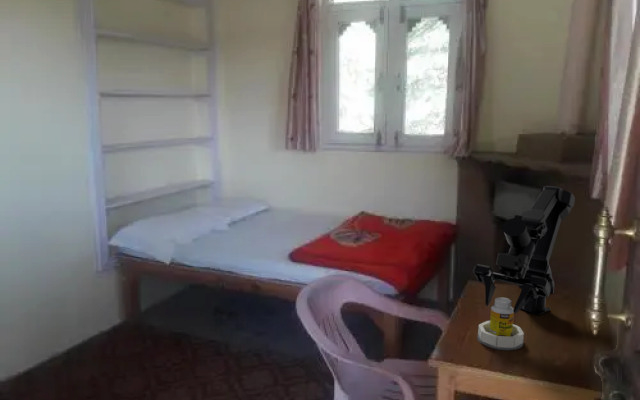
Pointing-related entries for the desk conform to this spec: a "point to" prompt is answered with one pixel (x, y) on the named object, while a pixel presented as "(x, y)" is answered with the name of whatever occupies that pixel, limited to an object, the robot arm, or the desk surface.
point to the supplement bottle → (501, 317)
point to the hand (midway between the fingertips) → (500, 308)
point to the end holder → (500, 338)
